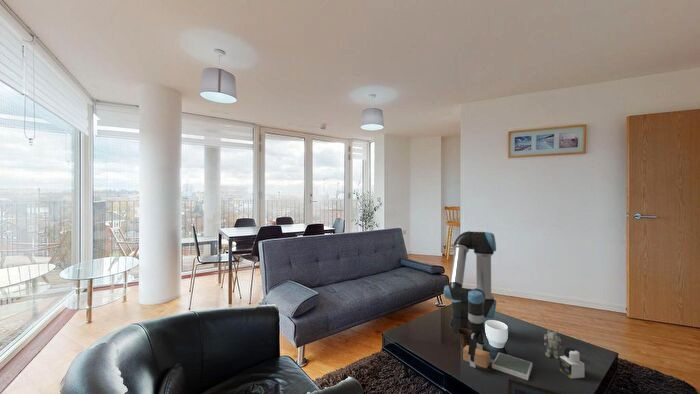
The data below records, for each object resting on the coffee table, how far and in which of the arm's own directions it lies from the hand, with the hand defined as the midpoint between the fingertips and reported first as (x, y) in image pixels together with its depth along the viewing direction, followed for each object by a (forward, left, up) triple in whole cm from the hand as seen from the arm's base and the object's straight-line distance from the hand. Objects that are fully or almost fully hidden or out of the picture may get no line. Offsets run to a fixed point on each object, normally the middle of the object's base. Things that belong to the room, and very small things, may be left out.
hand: (476, 361), depth 155 cm
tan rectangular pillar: (0, 0, 0) cm, 0 cm away
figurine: (+31, +30, 0) cm, 43 cm away
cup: (-9, +11, 0) cm, 14 cm away
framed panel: (+16, +6, 0) cm, 17 cm away
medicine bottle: (+40, +18, 0) cm, 44 cm away
